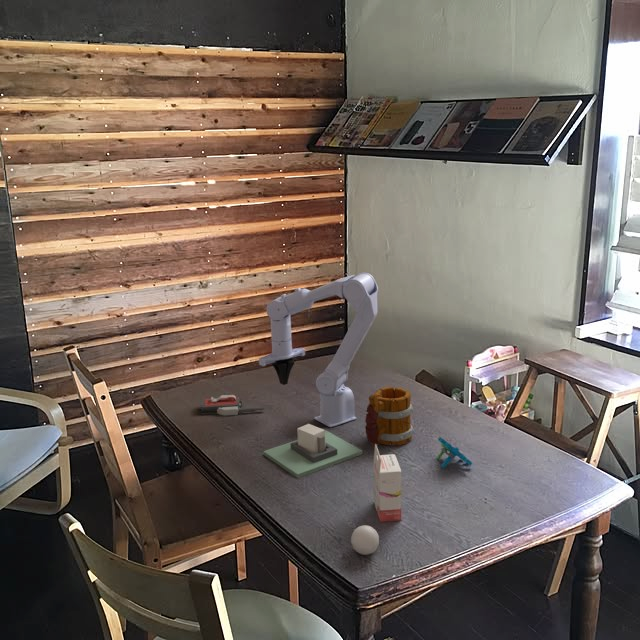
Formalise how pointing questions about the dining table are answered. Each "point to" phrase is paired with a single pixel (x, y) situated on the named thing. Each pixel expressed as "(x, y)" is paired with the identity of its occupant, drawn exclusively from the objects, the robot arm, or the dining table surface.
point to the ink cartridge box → (387, 486)
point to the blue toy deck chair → (451, 453)
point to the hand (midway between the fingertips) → (283, 383)
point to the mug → (389, 417)
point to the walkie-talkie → (224, 406)
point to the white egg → (365, 540)
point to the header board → (312, 455)
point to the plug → (311, 438)
